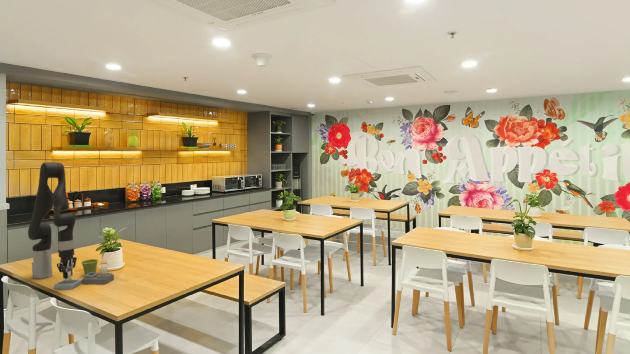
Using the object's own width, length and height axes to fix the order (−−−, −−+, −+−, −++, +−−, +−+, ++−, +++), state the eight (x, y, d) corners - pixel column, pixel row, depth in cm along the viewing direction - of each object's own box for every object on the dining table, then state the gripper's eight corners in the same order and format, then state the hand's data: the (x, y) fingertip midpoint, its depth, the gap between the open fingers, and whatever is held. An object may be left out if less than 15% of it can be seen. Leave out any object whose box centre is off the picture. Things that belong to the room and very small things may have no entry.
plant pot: (79, 277, 232) (78, 264, 231) (84, 272, 241) (83, 259, 240) (96, 276, 235) (95, 262, 234) (100, 271, 244) (100, 258, 243)
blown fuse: (63, 281, 216) (62, 266, 215) (67, 279, 219) (66, 264, 218) (68, 281, 215) (68, 266, 215) (72, 279, 219) (72, 264, 218)
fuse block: (81, 284, 221) (81, 276, 221) (91, 278, 230) (91, 271, 230) (104, 284, 220) (104, 277, 220) (113, 279, 229) (113, 271, 229)
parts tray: (53, 289, 213) (53, 284, 213) (64, 283, 222) (64, 279, 222) (71, 289, 213) (71, 284, 213) (81, 283, 221) (81, 279, 221)
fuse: (100, 277, 223) (99, 262, 222) (103, 275, 226) (102, 261, 226) (105, 277, 223) (104, 263, 222) (108, 275, 226) (108, 261, 226)
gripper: (68, 244, 223) (70, 273, 224) (50, 251, 209) (52, 281, 210) (80, 244, 223) (82, 273, 224) (63, 251, 208) (65, 281, 210)
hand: (67, 277), depth 217 cm, fingers closed on blown fuse, 3 cm apart
